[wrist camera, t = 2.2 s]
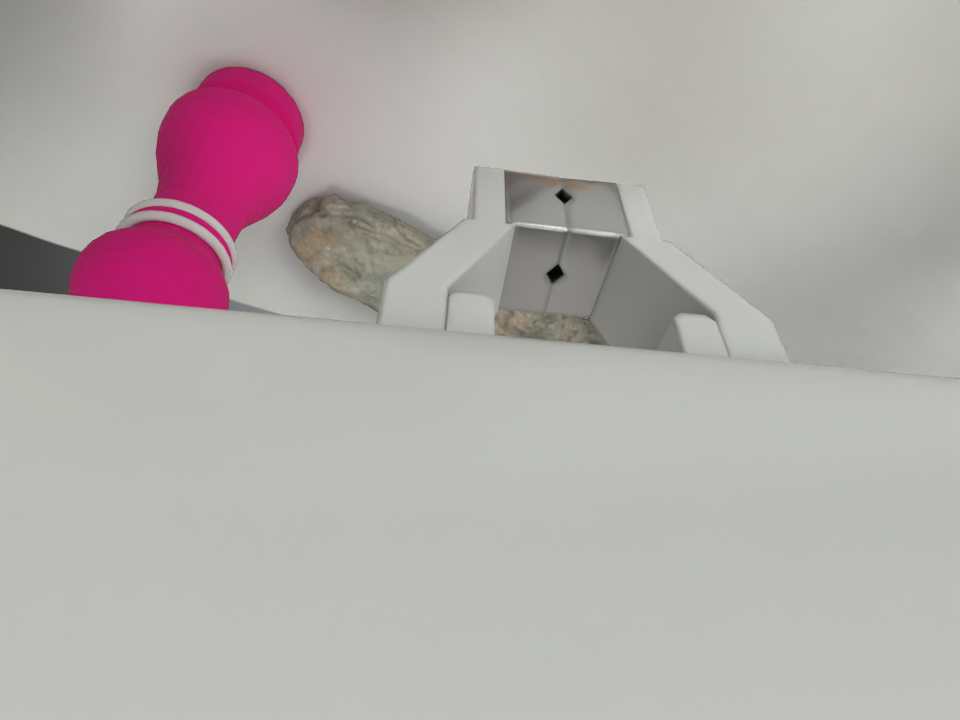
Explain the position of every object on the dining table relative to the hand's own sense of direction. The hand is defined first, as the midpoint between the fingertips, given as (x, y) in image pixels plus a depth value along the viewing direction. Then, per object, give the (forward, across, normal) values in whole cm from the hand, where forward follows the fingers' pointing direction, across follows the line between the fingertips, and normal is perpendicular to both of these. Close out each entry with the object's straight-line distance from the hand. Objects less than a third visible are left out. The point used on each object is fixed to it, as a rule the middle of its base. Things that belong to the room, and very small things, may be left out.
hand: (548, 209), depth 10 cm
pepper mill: (+25, +14, +13) cm, 32 cm away
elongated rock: (+25, -3, +27) cm, 37 cm away
